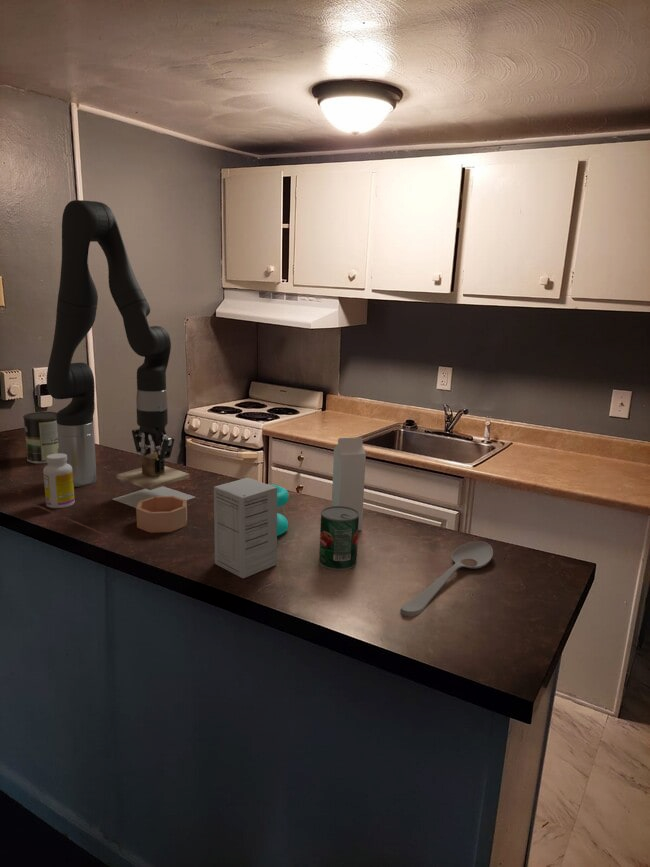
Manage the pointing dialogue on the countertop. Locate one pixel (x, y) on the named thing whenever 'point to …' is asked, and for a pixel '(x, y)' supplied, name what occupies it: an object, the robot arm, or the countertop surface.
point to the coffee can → (41, 436)
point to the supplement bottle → (58, 482)
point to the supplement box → (245, 526)
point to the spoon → (449, 574)
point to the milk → (349, 475)
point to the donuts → (281, 500)
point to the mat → (150, 495)
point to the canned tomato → (338, 537)
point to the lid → (152, 474)
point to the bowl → (161, 514)
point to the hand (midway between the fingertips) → (153, 470)
